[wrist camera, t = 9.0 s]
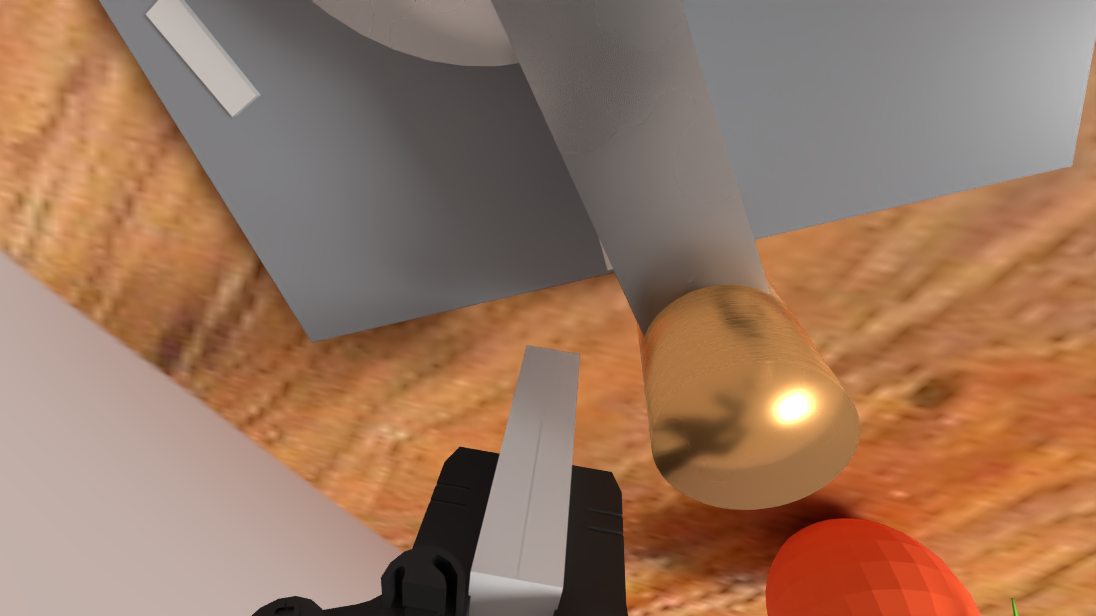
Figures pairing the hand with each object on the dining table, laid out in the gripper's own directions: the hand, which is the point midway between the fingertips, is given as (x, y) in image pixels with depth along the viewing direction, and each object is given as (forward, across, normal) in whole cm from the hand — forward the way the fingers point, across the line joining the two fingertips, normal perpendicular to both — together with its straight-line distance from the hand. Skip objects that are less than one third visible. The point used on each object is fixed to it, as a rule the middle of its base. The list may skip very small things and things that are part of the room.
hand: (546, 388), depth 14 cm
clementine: (+4, +14, -8) cm, 16 cm away
